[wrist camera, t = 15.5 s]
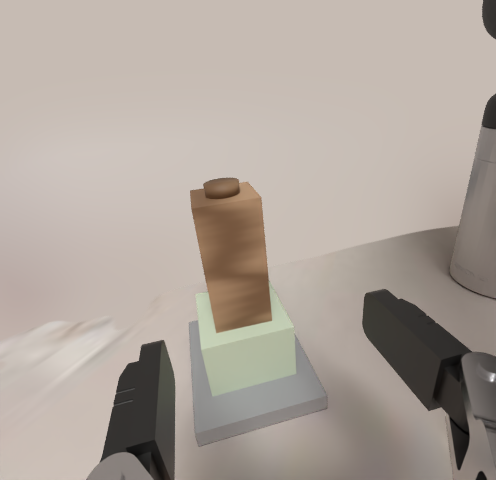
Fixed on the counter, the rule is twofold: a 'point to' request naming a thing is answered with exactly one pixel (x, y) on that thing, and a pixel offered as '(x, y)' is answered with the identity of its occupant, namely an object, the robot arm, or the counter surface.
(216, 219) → the walnut pillar block
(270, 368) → the foundation
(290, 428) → the counter surface
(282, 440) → the counter surface
